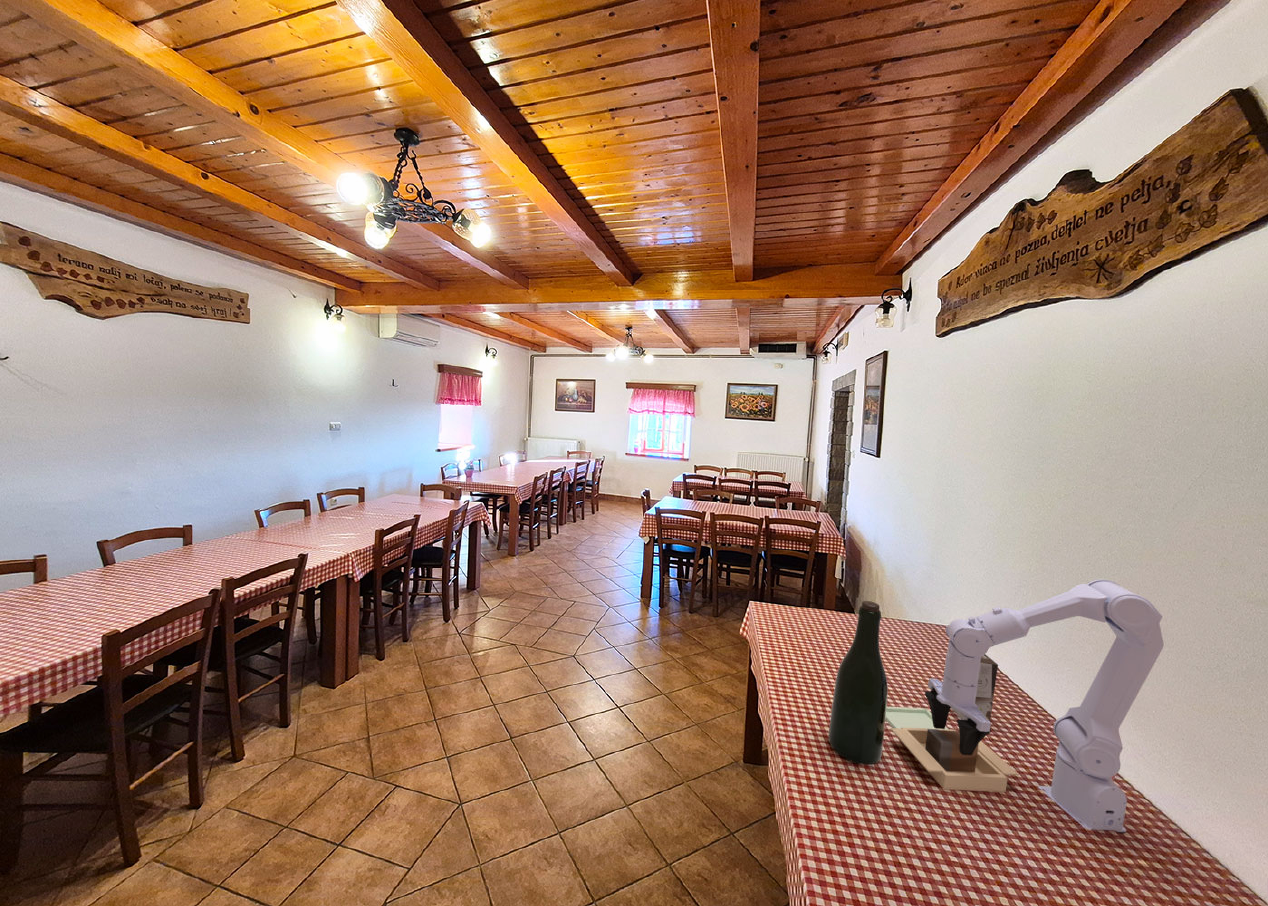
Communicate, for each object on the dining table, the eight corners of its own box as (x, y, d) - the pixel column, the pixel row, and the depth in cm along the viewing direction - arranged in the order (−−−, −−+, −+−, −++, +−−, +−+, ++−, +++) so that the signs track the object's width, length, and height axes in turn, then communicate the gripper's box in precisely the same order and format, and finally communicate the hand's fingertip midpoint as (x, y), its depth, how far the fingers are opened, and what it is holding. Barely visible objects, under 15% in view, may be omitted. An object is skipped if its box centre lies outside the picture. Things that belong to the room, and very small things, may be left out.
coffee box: (990, 729, 108) (999, 665, 107) (961, 723, 109) (969, 660, 108) (970, 706, 117) (978, 647, 116) (943, 701, 118) (950, 642, 117)
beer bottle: (851, 770, 91) (869, 614, 89) (817, 735, 101) (833, 594, 99) (892, 763, 94) (911, 612, 91) (855, 729, 104) (871, 592, 101)
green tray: (955, 742, 102) (956, 736, 102) (901, 740, 101) (901, 734, 101) (925, 713, 112) (926, 708, 112) (875, 711, 111) (876, 706, 111)
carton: (1019, 795, 88) (1022, 777, 88) (929, 791, 87) (931, 773, 87) (965, 745, 101) (967, 729, 101) (886, 741, 101) (888, 725, 100)
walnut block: (975, 772, 92) (978, 744, 92) (937, 770, 92) (941, 742, 91) (959, 757, 96) (963, 730, 96) (924, 755, 96) (927, 729, 96)
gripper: (918, 659, 100) (910, 716, 101) (969, 699, 85) (960, 766, 86) (948, 660, 100) (940, 718, 101) (1004, 701, 86) (994, 767, 87)
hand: (951, 740), depth 94 cm, fingers open, 7 cm apart
